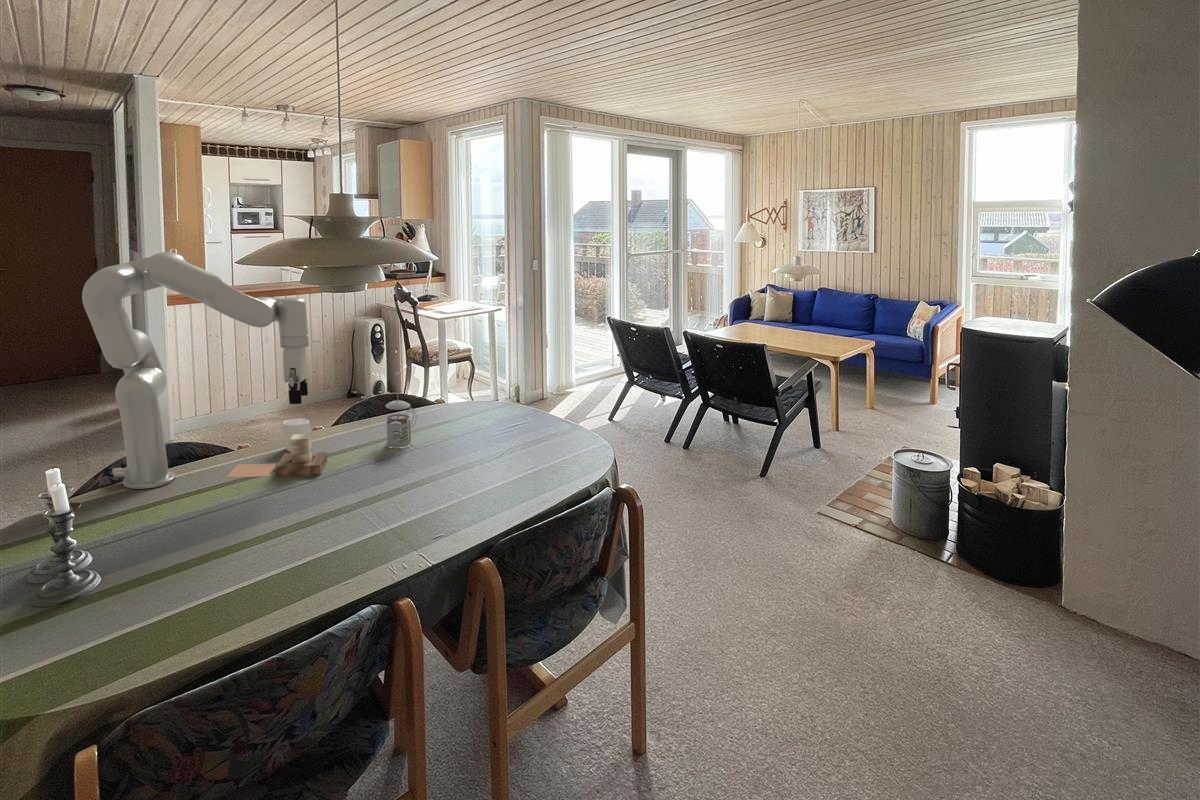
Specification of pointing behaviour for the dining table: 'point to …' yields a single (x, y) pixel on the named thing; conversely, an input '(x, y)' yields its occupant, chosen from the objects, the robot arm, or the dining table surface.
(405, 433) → the french press
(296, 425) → the white cup
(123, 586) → the dining table surface
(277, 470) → the walnut holder
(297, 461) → the birch peg
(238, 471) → the terracotta tile
